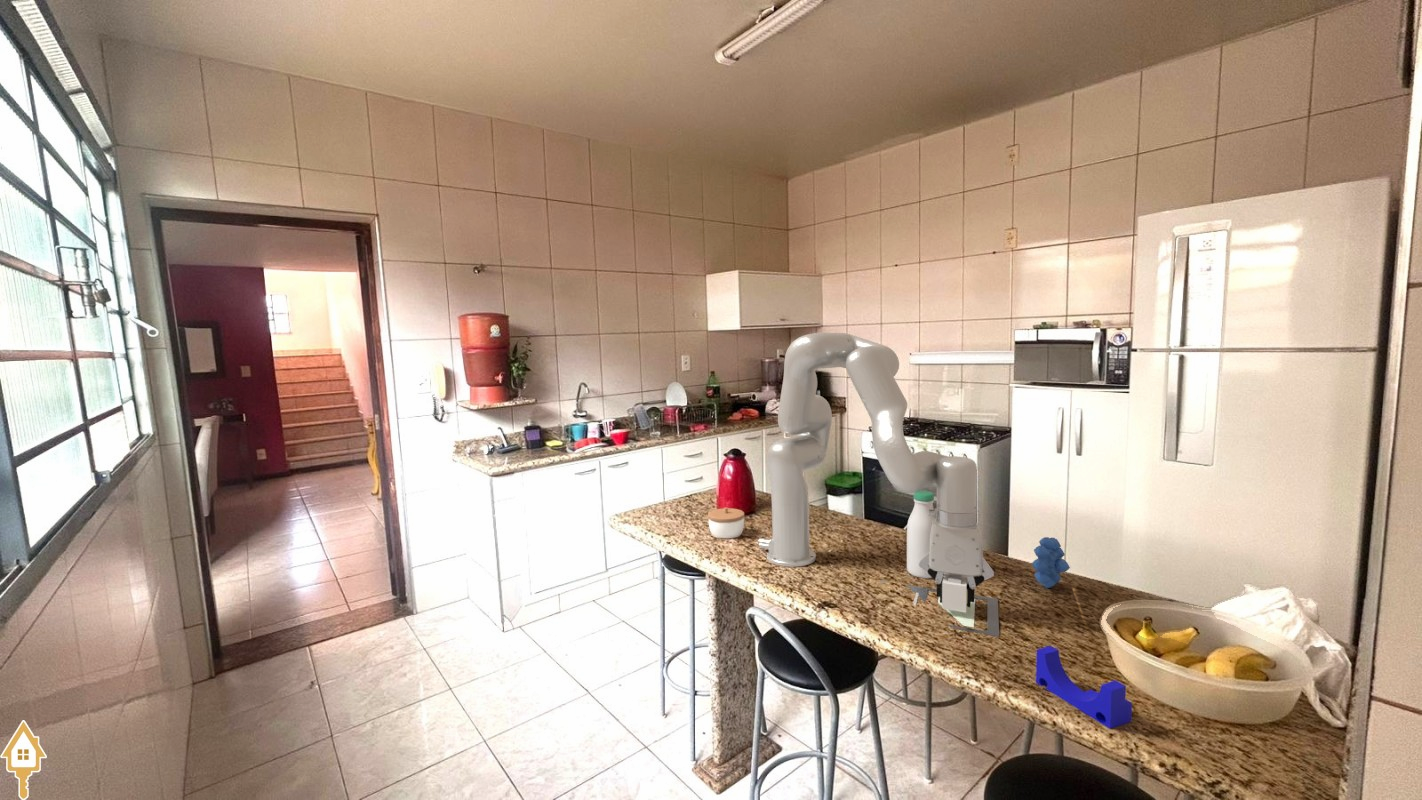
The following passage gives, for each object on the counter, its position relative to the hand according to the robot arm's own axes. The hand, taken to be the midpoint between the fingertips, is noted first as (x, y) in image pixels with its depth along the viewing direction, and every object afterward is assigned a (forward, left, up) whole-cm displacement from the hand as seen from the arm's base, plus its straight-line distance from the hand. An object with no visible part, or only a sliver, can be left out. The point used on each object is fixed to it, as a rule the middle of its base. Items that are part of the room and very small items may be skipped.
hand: (955, 601), depth 118 cm
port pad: (0, 0, -2) cm, 2 cm away
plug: (0, 0, 0) cm, 0 cm away
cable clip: (+19, -25, -2) cm, 31 cm away
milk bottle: (-8, +18, -2) cm, 20 cm away
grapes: (+19, +19, -2) cm, 27 cm away
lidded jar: (-63, +23, -2) cm, 67 cm away
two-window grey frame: (-8, 0, -2) cm, 8 cm away
